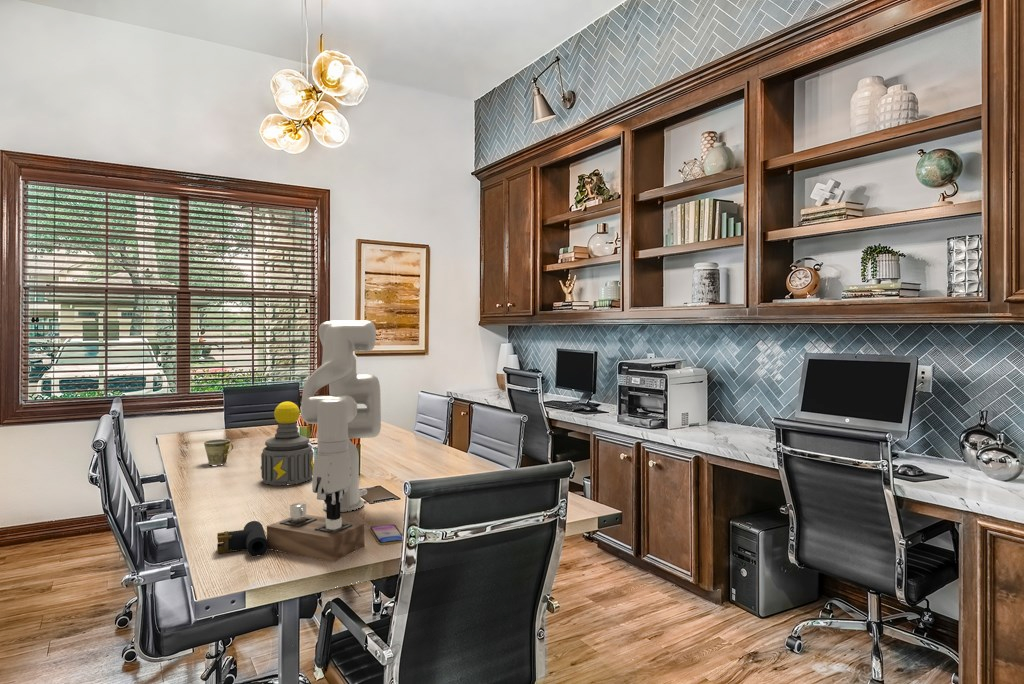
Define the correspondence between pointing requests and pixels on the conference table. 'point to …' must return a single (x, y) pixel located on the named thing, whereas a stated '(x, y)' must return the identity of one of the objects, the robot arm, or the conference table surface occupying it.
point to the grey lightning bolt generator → (287, 450)
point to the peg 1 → (298, 513)
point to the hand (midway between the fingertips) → (333, 518)
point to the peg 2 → (333, 523)
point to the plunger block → (315, 538)
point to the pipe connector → (244, 540)
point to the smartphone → (386, 534)
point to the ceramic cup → (217, 451)
